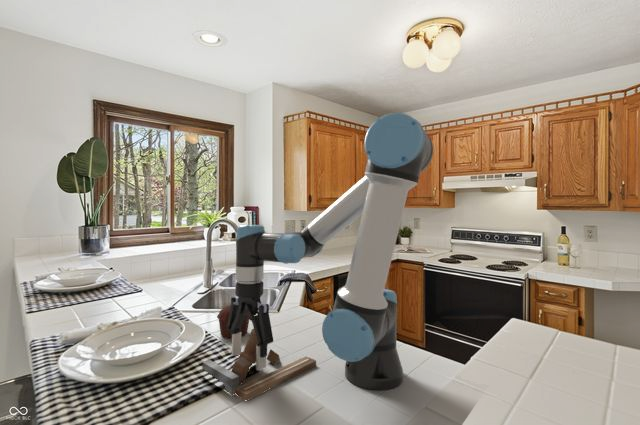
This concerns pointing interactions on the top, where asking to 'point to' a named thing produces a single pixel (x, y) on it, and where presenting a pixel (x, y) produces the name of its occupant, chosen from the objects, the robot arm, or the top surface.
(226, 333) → the muffin
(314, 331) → the top surface
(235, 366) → the wooden block set
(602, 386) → the top surface
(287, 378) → the board
